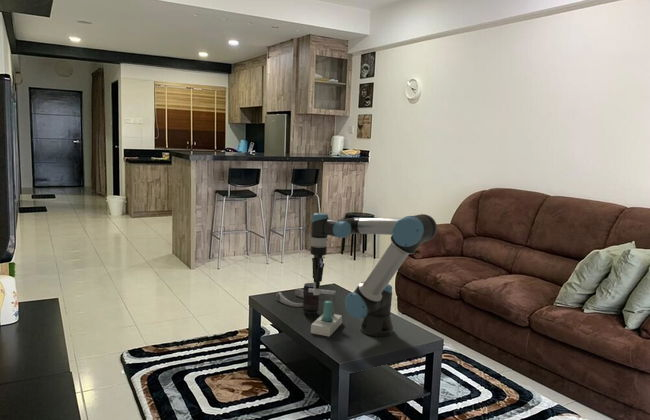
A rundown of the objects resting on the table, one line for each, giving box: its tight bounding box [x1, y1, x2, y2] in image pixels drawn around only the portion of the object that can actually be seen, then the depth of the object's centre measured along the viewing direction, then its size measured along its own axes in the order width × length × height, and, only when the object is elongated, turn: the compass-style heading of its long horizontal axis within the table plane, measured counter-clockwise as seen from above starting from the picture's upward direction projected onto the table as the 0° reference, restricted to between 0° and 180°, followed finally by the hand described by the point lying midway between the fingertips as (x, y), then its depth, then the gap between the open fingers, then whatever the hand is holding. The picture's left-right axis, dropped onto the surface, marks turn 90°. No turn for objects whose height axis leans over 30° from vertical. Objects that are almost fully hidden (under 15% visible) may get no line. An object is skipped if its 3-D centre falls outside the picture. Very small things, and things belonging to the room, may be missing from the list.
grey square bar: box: [308, 288, 337, 296], centre depth 239 cm, size 2×13×2 cm, turn 82°
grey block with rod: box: [310, 294, 343, 337], centre depth 232 cm, size 9×18×14 cm, turn 161°
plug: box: [322, 300, 333, 323], centre depth 232 cm, size 5×5×11 cm
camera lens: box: [302, 282, 320, 317], centre depth 251 cm, size 8×8×15 cm
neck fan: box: [276, 287, 304, 308], centre depth 269 cm, size 18×17×5 cm
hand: (316, 294), depth 237 cm, fingers closed
